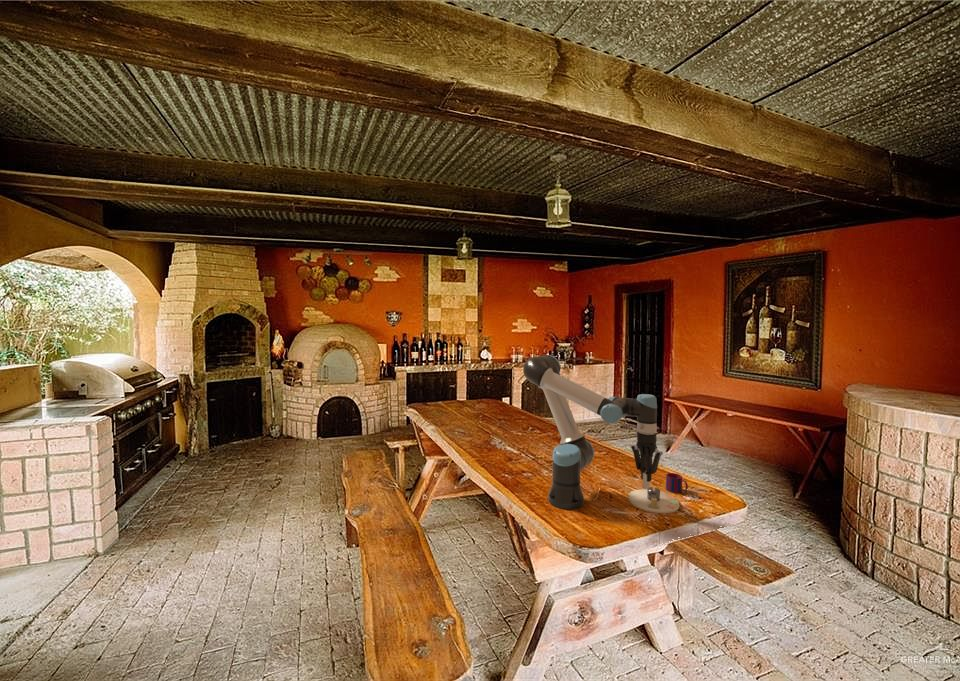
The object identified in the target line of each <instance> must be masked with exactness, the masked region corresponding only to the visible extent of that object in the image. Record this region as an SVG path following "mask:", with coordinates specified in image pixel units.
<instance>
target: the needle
mask: <svg viewBox="0 0 960 681" xmlns="http://www.w3.org/2000/svg"><path fill="white" fill-rule="evenodd" d="M660 491H661V489H659V488H658V487H655V486H650V488H648V489H647V498H648V499H649V500H651V507H652V508H657V501H659V500H660Z"/></svg>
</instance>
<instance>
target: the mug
mask: <svg viewBox="0 0 960 681" xmlns="http://www.w3.org/2000/svg"><path fill="white" fill-rule="evenodd" d="M665 478H666V479H665V490H666V491H667V492H668V493H669V492H670V493H673V494H680V493H682V492H686V491H687V490H688V486H689V485H688V482H687V481H686V480H684V479H683V476H682V475H681V474H679V473H675V472H667V473H666V476H665ZM683 483H684V484H685V489H683Z"/></svg>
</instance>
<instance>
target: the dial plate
mask: <svg viewBox="0 0 960 681" xmlns="http://www.w3.org/2000/svg"><path fill="white" fill-rule="evenodd" d="M628 501H629V503H630V504H631V505H632V506H634V507H635V508H637V509H640V510H642V511H645V512H649V513H652V514H673V513H675V512H677V511H678V510H680V501H679V500H678V499H677V498H676V497H675V496H673V495H672V494H670V493H667V492H663V491H661V490H660V500H659V501H657V508H652V507H651V500H649V499H648V498H647V489H643V488H642V489H641V488H640V489H635V490H632V491H630V492H629V493H628Z"/></svg>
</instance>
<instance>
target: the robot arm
mask: <svg viewBox="0 0 960 681" xmlns="http://www.w3.org/2000/svg"><path fill="white" fill-rule="evenodd" d="M561 367H562V366H561V363H560V361H559V359H557V358H556V357H555V356H553V355H550V354H543V355H538V356H533V357H530V358H528V359H527V360H526V361H525V362H524V364H523V367H522V371H523V372H522V374H524V375H523V376H524V377H525V378H526V380H527V381H529V382H530V383H531V384H533V385H535V386H537V387H538V388H539V389H541V390H542V391H543V393H544V396H545V399H546V401H547V405H548V407H549V409H550V411H551V414H552V417H553V419H554V423H555V425H556V428H557V430H558V432H559V434H560V435H559V436H560V438H561V439H560V441H559V445H556V446H555V447H554V448H553V451H552V483H551V486H550V489H549V491H548V494H547V501H548V503H549V502H550V503H551V505H552V506H554V507H555V508H558V509H559V508H560V509H563V510H564V509H565V510H574V509H579V508H581V507H583V506H584V504H585V498H584V497H585V496H584V493H583V490H582V487H581V471H582V470H584V469H585V468H586V467H587V466H589V465H590V464H591V463H592V461H593V459H594V458H595V457H594V456H595V450H594V447H593V444H592V443H591V442H590V441H588V440H587V439H586V437H585V435H584V434H583V433H582V432H580V430H579V428H578V426H577V423H576V421H575V418H574V415H573V412H572V410H571V407H570V405H569V402H568V400H569V401H570V402H573V403H575V404H577V405H579V406H580V407H582V408H585V409H586V410H588V411H590V412H592V413H594V414H596V415H598V416H600V418H601V419H602V420H603V421H604V422H605V423H606V424H615V423H618V422H619V421H621V420H622V419H623V418H624V417H634V418H635V417H636V421H637V422H636V423H637V424H636V425H637V426H636V430H637V432H636V441H637V442H636V444H634V445H631V447H630V448H631V450H632V453H633V456H634V462H635V466H636V470H637V471H640V478H641V480H642V489H648V488H650V487H651V486H650V485H651V484H650V483H651V481H652V477H653V476H652V475H653V474H655V473H657V470H658V467H659V462H660V459H661V457H662V455H663V453H664V452H663V451H661V450H659V449H658V446H657V440H658V438H657V431H658V430H657V429H658V428H657V421H658V420H657V418H658V417H657V416H658V410H657V409H658V404H657V397H656V396H655V395H653V394H648V393H647V394H646V393H641V394H638V395H637V397H636V398H630V397H629V398H628V397H619V396H610V397H609V398H608V397H606V396H605V397H604V396H602V395H601V394H599V393H598V392H595V391H593V390H590V389H589V388H587V387H585V386H583V385H581V384H579V383H576V382H574V381H573V380H571V379H569V378H567V377H564V376H563V375H561V374H560V373H561V369H562V368H561ZM550 503H549V504H550Z"/></svg>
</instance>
